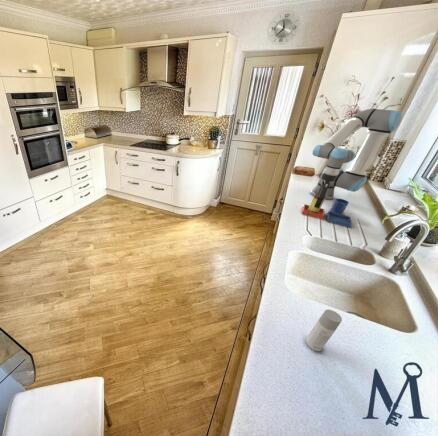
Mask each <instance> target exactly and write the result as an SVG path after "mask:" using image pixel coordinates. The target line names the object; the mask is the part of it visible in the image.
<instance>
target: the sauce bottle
mask: <svg viewBox="0 0 438 436" xmlns="http://www.w3.org/2000/svg"><path fill="white" fill-rule="evenodd" d="M321 187H322V184H321V186H320V189H319V191H318V192H316V193H315V195H314V196H313V197H312V199H311V201H310V204H309V208H308V212H312V213H316V214H317V213H318V212H319V210H320V208H322V206H323V203H324V202H325V200H326V199H325V197H324V199H323V200H322V202H321V205H320V207H319V208H316V207H314V206H315V203H316V201H317V199H318V198H317V197H319V195H320V192H321Z"/></svg>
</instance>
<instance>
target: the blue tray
mask: <svg viewBox="0 0 438 436" xmlns="http://www.w3.org/2000/svg"><path fill="white" fill-rule="evenodd" d="M326 222H327V223H331V224H335V225H338V226H342V227H346V228H351V227H352V226H353V224H352V223H353V222H352V219H351V216H349V215H345V214H343V215H342V214H338V213H333V212H330V210H329V211H327V213H326Z"/></svg>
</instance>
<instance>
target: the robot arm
mask: <svg viewBox="0 0 438 436" xmlns="http://www.w3.org/2000/svg"><path fill="white" fill-rule="evenodd" d="M402 118H403V113H402V112H401V111H399V110H393V109H381V108H368V109H363V110H361V111H359V112H357V113H355V114H353V115H352V116H350V117H349V118H348V119H347V120H346V122H345V124H344V125H343V126H342V127H341V128H339V129H338V130H337V131H336V132H335V133H334V134H333V135H332V136H331V137H330V138H329V139H327V140H326V141H325V142H324V143H323V144H316V145H315V146H314V147H313V149H312V155H313V157H318V158H321V159H324V160H328V161H327V163H326V165H325V167H323V171H322V172H321V173H320V174H319V175H318V178H319V179H318V182H317V184H316V185H315V186H314V187H313V188H312V189H311V192H310V194H311V195H312V196H313V197H314V195H315V193H316V192H318V191H319V189H320V186H321V184H322V187H321V192H320V195H319V197H317V198H318V199H317V201H316V203H315V206H314V207H316V208H319V207H320V205H321V202H322V200H323V199H324V197H325V199H324V200H332V199H333V198H334V197H335V188H340V189H343V190H346V191H349V192H353V193H354V192H357V191H359V190H360V189H362V188H363V186H364V185H365V184H366V183H367V181H368V178H367V177H366V176H367V172H366V171H367V169H368V167H369V166H370V164H371V162H372V161H373V158H374V157H375V155H376V153H377V152H378V149H380V146H381V144H382V143H383V141H384V139H385V137H387V136H389V135H390V134H391V133H392V132H395V131H397V129H398V128H399V126H400V123H402V122H401V121H402ZM361 128H366V129H367V133H368V134H367V136H366V138H365V139H364V142H363V144H362V145H361V147H360V149H359V150H358V153H357V155H356V152H355V151H354V150H352V149H351V150H350V149H346V148H342V147H340V148H339V146H341V145H342V143H344V142H345V141H346V140H347V139H348V138H349V137H350V136H351V135H352V134H354V132H355V131H359V130H361ZM352 161H353V162H352ZM350 162H352V164H351V166H350V167H349V168H348V169H346V170H345V171H344V168H342V167H343V166H344V165H343V164H347V163H350Z"/></svg>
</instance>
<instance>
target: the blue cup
mask: <svg viewBox="0 0 438 436" xmlns="http://www.w3.org/2000/svg"><path fill="white" fill-rule="evenodd" d="M349 204H350V202H349V201H348V200H346V199H344V198H335V199H334V200H333V202H332V205H331V207H330V209H329V212H333V213H338V214H342V215H344V213H345V211H346V209H347V207H348V205H349Z"/></svg>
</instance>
